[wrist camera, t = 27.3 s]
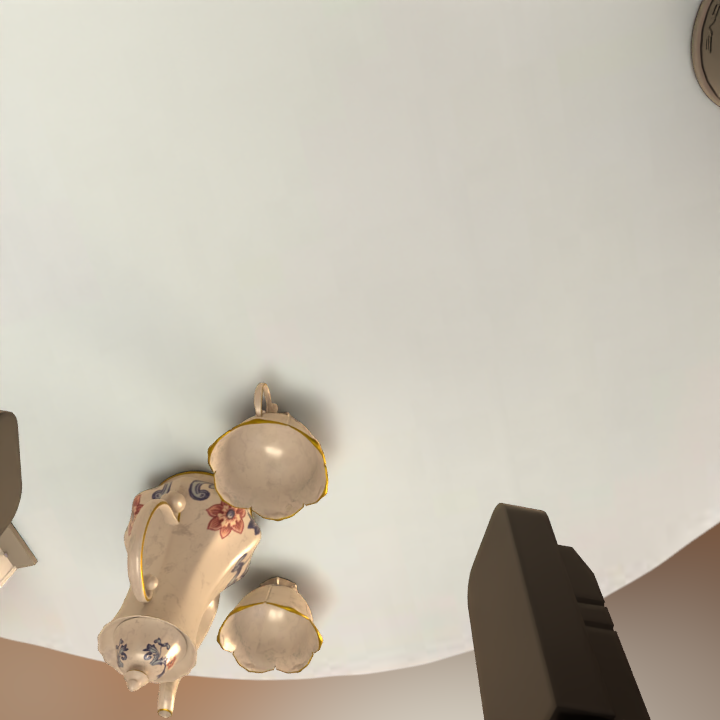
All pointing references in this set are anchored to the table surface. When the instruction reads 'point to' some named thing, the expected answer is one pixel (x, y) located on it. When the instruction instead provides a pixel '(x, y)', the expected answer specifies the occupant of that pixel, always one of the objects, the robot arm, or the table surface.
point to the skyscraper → (13, 554)
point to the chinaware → (217, 558)
